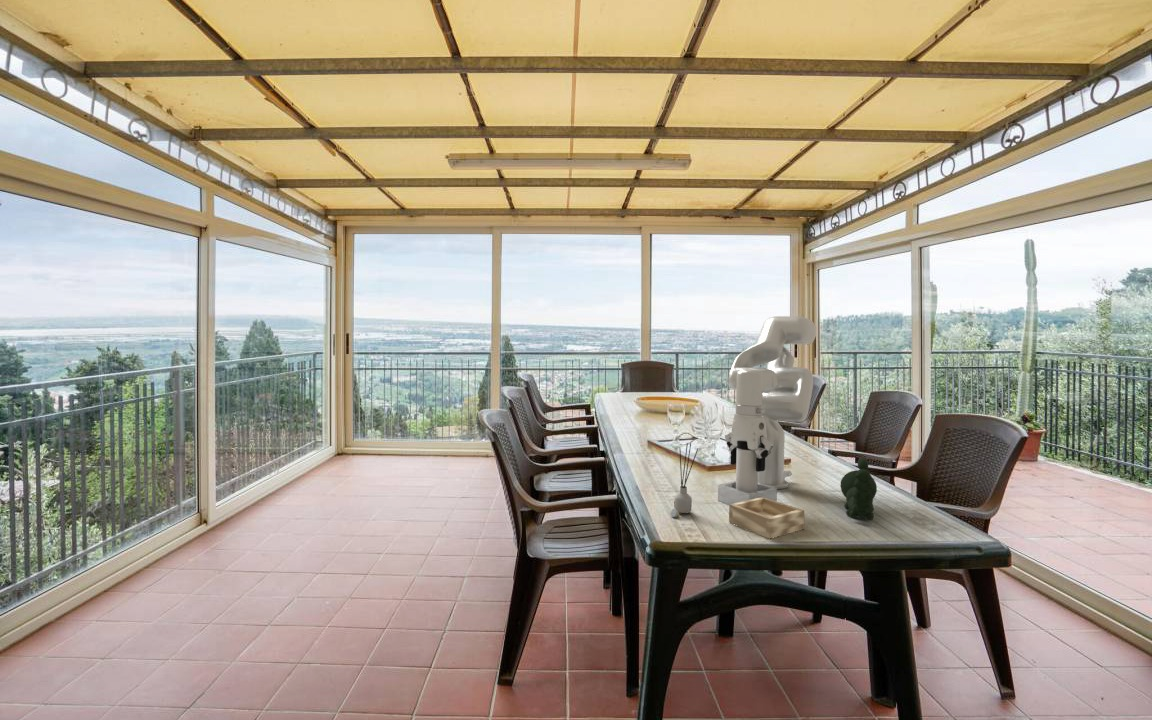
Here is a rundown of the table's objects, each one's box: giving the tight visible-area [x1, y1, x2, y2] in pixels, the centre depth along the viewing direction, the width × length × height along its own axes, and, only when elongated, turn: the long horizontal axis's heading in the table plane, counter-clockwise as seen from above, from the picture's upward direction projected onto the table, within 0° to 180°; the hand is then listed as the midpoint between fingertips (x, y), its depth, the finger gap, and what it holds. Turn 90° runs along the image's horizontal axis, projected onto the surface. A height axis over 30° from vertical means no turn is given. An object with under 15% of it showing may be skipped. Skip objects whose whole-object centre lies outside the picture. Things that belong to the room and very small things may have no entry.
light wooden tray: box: [728, 497, 805, 540], centre depth 145 cm, size 13×13×5 cm
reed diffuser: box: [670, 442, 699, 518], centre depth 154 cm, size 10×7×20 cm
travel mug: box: [735, 441, 758, 493], centre depth 164 cm, size 6×7×20 cm
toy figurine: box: [840, 457, 878, 521], centre depth 155 cm, size 9×19×25 cm
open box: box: [717, 480, 778, 505], centre depth 164 cm, size 12×12×5 cm
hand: (747, 467), depth 164 cm, fingers open, 9 cm apart
